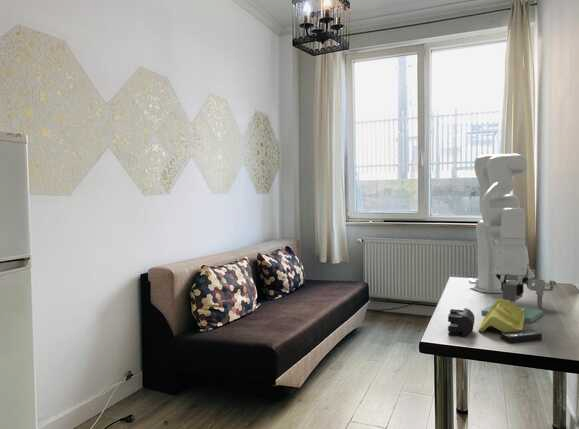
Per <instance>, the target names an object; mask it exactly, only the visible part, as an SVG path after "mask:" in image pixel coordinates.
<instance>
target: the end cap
mask: <svg viewBox="0 0 579 429" xmlns="http://www.w3.org/2000/svg"><path fill="white" fill-rule="evenodd" d="M447 322H449V325H447V332H448V333H447V335H448V336H449V337H457V338H465V337H467V336H468V335H470V334H472V333H473V330H474V325H475V314H474V312H472V311H471V310H470V309H469V308H466V307H464V308H463V309H453V308H451V309H450V310H449V313H448V315H447Z"/></svg>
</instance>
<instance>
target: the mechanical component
mask: <svg viewBox="0 0 579 429" xmlns="http://www.w3.org/2000/svg"><path fill="white" fill-rule="evenodd" d="M533 284H534V285H533ZM524 285H526V287H527V289H528V290H530V291H534V292H535V291H536V292H535V295H537V307H540V308H542V307H543V296H544V295H545V294H544V292H552V291H554V289H555V286H556V285H557V284H556V280H551V279H550V280H549V281H548V283H546V282H545V280H544V279H533V278H531V279H529V280H528V281H526V282H525V283H524ZM545 287H548V288H545Z"/></svg>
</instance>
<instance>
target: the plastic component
mask: <svg viewBox="0 0 579 429" xmlns="http://www.w3.org/2000/svg"><path fill="white" fill-rule="evenodd" d="M508 301H509V300H504V299H502V298H499V299H497V300H496V301H495V303H493V304H494V305H493V304H492V305H493V306H492V308H491V309H490V311H489V312H488V313H487V315H484V318H483V320H482V322H481V323H480V325H479V328H478V332H481V333H484V332H485V331H486V330H487V328H489V327H493V328H495V329H497V330H499V331H500V332H501V333H503V332H519V331H523V328H524V323H525V322H524V318H525V315H524V313H523V311H522V310H521V309H519V308H518V307H519V306H517V305H516V306H515V305H513V304H511V303H510V302H508Z"/></svg>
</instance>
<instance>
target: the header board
mask: <svg viewBox="0 0 579 429" xmlns="http://www.w3.org/2000/svg"><path fill="white" fill-rule="evenodd" d="M507 301H508V302H510V303H511V304H513V305H515V306H517V300H516V301H511V300H507ZM494 304H495V303H493V304H491V305H489V306H487V307H485V308H484V309H480V310H481V315H482V316H486V315H487V313H488V312H489V311H490V309H491V308H492V306H493V305H494ZM517 307H518V308H519V309H521V310H522V311H523V313H524V315H525V318H524V323H528V324H532V323H534V322H535V321H536V320H537V319H539V318H540V317H541V316H543V314H544V310H542V309H536V308H531V307H523V306H517Z"/></svg>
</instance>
